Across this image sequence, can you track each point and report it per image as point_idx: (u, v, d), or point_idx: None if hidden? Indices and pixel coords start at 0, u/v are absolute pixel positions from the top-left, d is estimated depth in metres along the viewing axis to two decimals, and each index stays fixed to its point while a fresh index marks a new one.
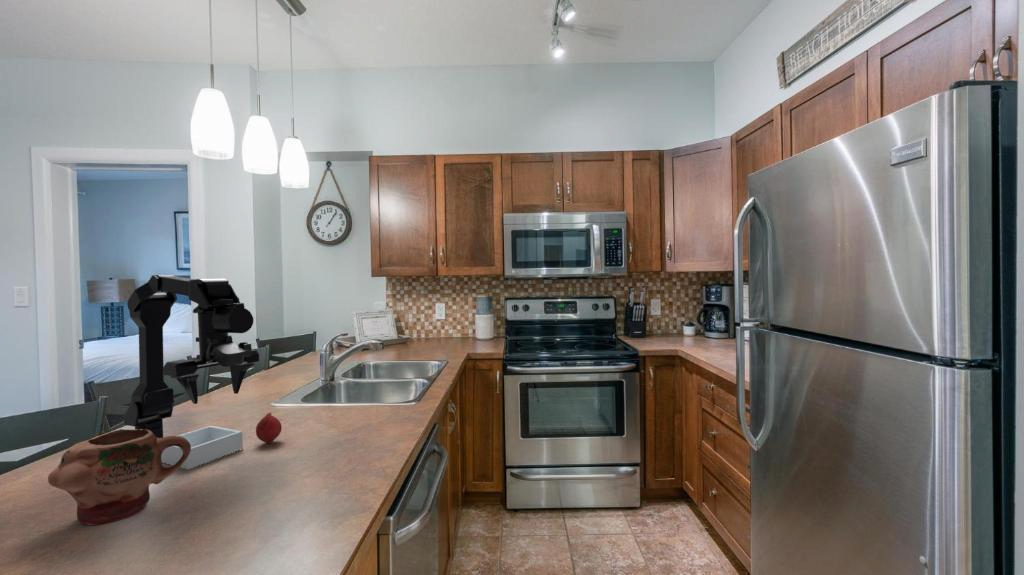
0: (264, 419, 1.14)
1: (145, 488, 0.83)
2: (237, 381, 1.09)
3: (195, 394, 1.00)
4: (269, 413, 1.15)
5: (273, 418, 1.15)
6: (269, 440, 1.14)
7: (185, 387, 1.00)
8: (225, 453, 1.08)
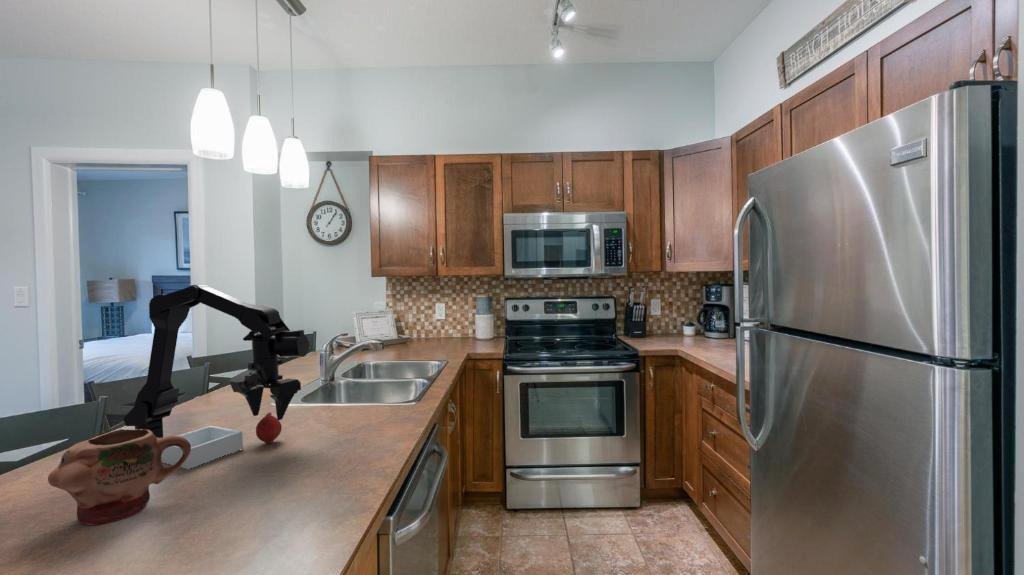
0: (264, 419, 1.14)
1: (145, 488, 0.83)
2: None
3: (251, 407, 1.16)
4: (269, 413, 1.15)
5: (273, 418, 1.15)
6: (269, 440, 1.14)
7: None
8: (225, 453, 1.08)
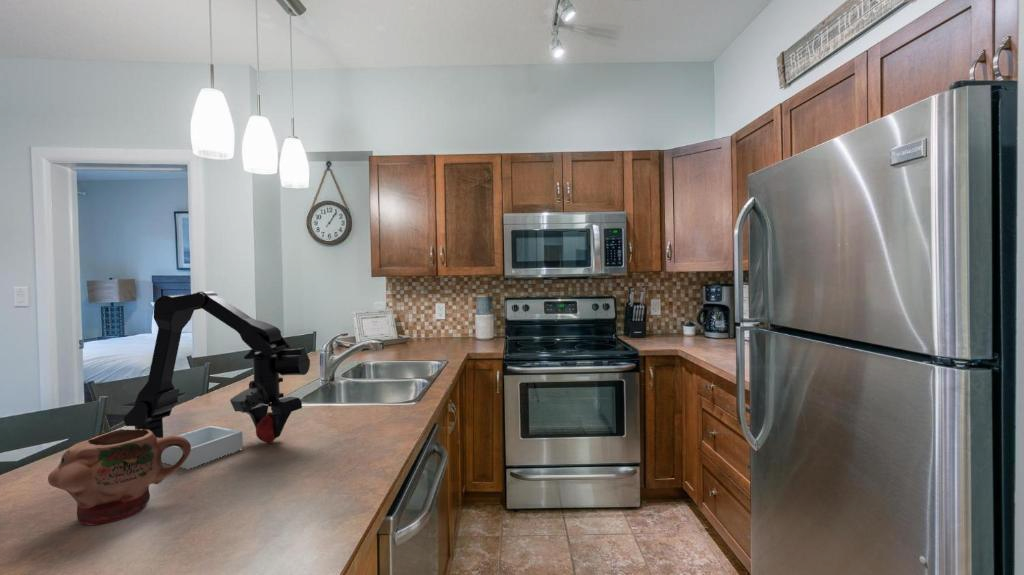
0: (264, 418, 1.14)
1: (145, 488, 0.83)
2: None
3: (256, 426, 1.16)
4: None
5: None
6: (269, 440, 1.14)
7: None
8: (225, 453, 1.08)
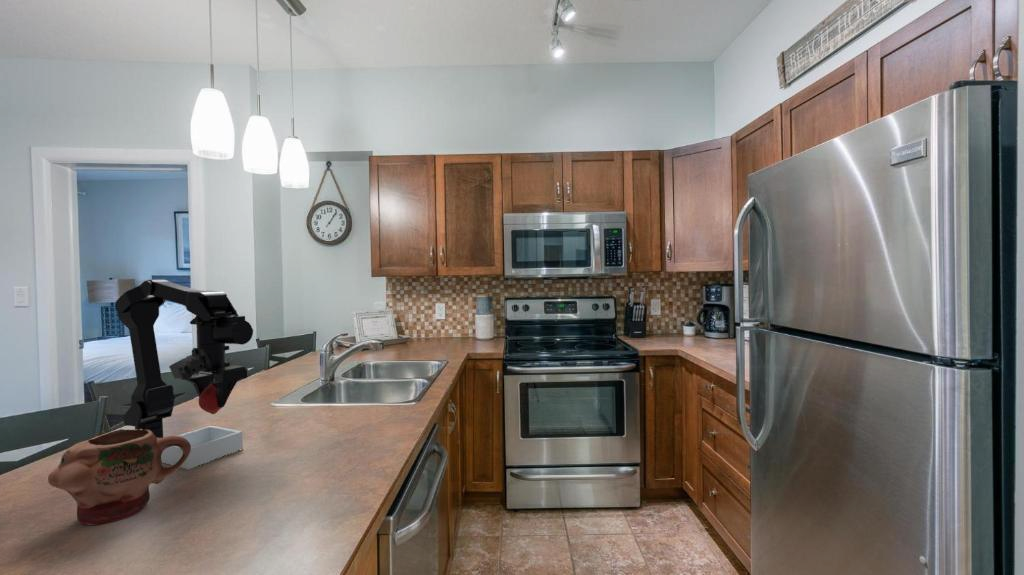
0: (207, 388, 1.08)
1: (145, 488, 0.83)
2: None
3: (199, 396, 1.10)
4: None
5: None
6: (213, 410, 1.08)
7: None
8: (225, 453, 1.08)
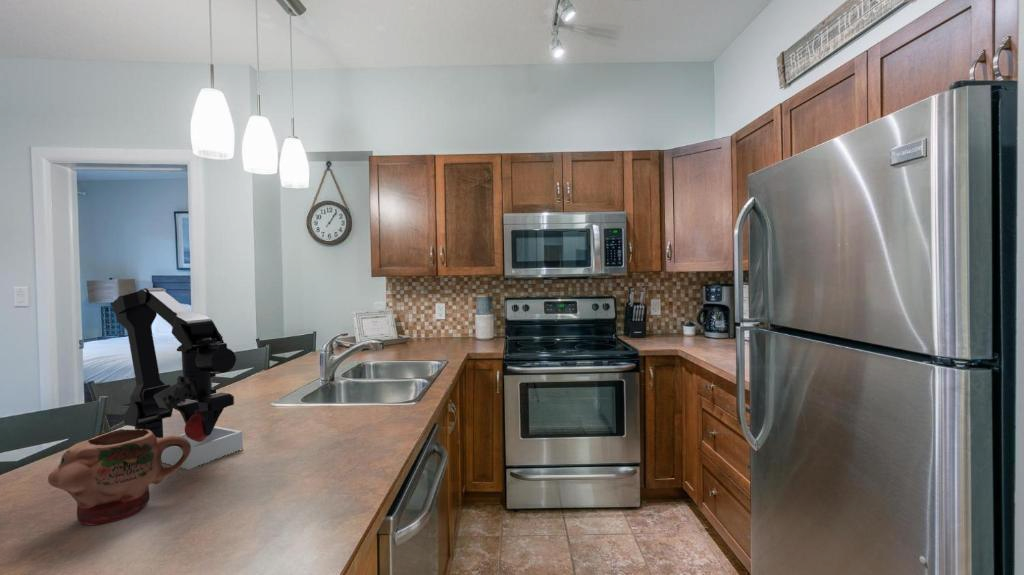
0: (193, 416, 1.07)
1: (145, 488, 0.83)
2: None
3: None
4: None
5: None
6: (199, 438, 1.07)
7: None
8: (225, 453, 1.08)
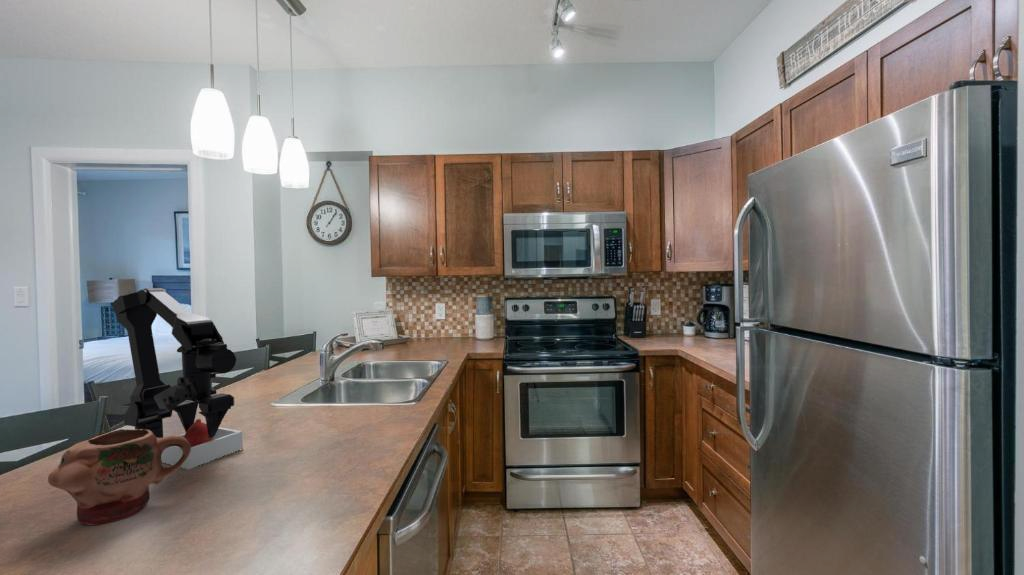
0: (192, 425, 1.08)
1: (145, 488, 0.83)
2: None
3: (183, 424, 1.10)
4: (198, 419, 1.09)
5: (202, 424, 1.09)
6: None
7: None
8: (225, 453, 1.08)
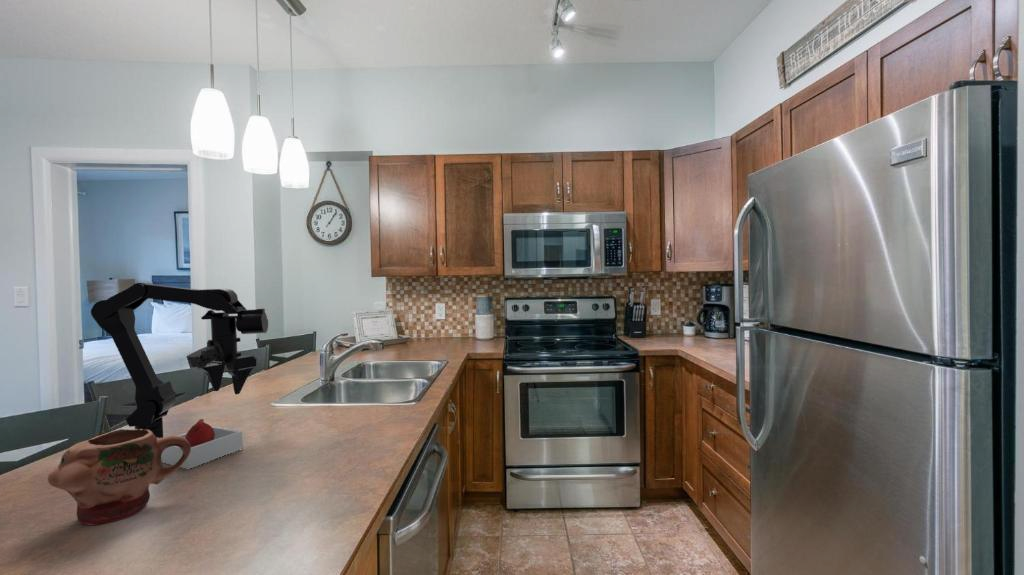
0: (194, 425, 1.08)
1: (145, 488, 0.83)
2: None
3: (211, 383, 1.22)
4: (201, 419, 1.09)
5: (205, 425, 1.09)
6: None
7: None
8: (225, 453, 1.08)
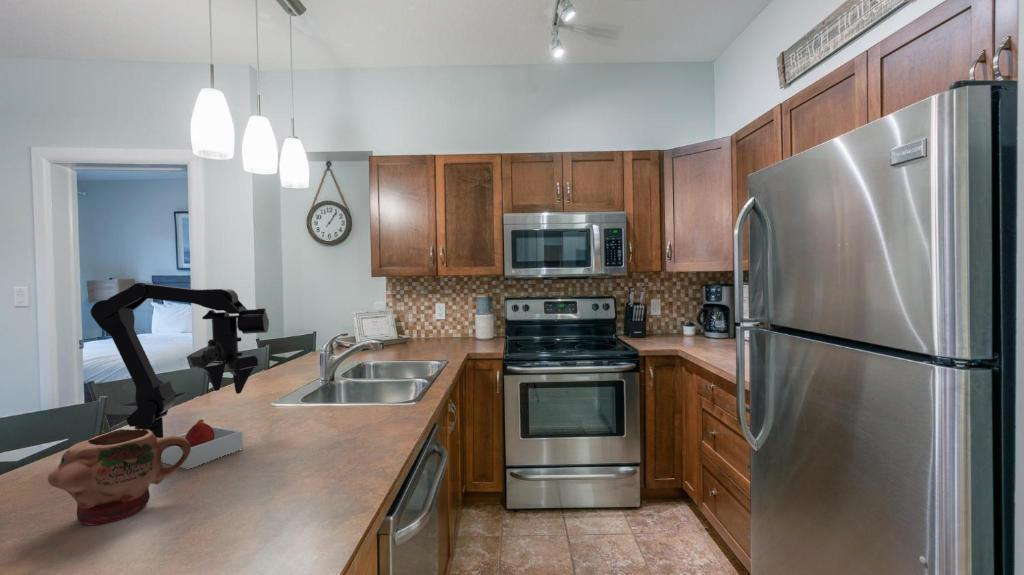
0: (194, 426, 1.07)
1: (145, 488, 0.83)
2: None
3: (212, 383, 1.23)
4: (201, 420, 1.09)
5: (205, 425, 1.08)
6: None
7: None
8: (225, 453, 1.08)
